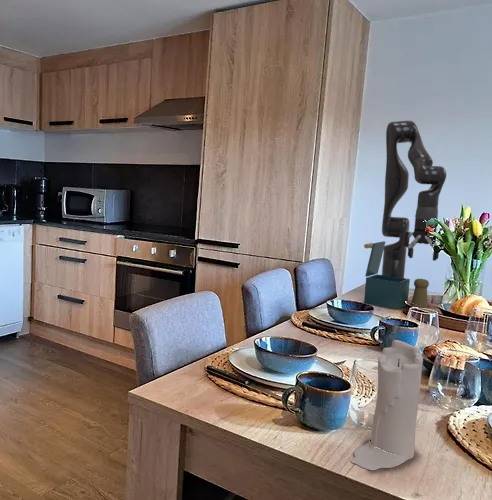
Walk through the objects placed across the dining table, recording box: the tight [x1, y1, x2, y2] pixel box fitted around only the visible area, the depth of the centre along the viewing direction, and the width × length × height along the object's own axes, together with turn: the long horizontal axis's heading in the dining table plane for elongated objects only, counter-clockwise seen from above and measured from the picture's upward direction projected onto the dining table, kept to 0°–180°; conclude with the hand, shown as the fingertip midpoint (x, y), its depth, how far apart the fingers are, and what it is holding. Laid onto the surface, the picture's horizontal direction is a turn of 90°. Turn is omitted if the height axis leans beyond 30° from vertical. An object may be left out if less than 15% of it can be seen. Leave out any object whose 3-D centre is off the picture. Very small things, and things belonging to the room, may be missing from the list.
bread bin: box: [363, 273, 411, 310], centre depth 202 cm, size 13×11×11 cm
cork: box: [410, 278, 430, 309], centre depth 200 cm, size 6×6×11 cm
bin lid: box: [363, 240, 386, 278], centre depth 206 cm, size 14×11×5 cm
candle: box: [350, 339, 424, 471], centre depth 89 cm, size 7×14×20 cm, turn 125°
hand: (422, 259), depth 198 cm, fingers open, 8 cm apart
